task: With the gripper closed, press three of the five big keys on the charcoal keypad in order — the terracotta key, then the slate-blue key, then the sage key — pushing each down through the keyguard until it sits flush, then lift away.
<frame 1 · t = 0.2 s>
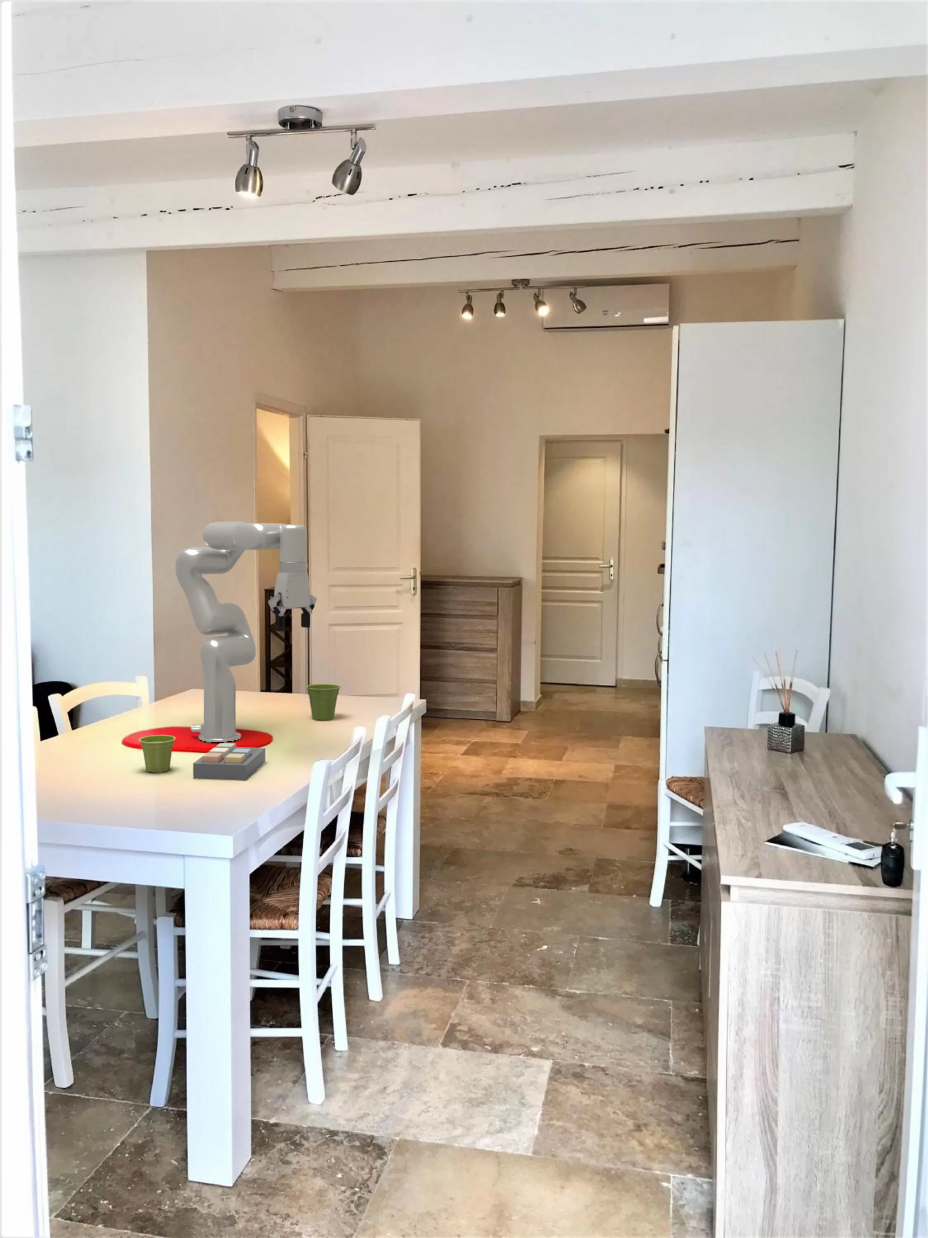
hand: (292, 628, 289), 37 cm above the table, tool pointing down, fingers open, 9 cm apart
keypad: (230, 770, 275), on the table
plant pot: (157, 771, 273), on the table
key ochre: (235, 761, 269), point 4 cm above the table, slide at 0.0 cm
plant pot 2: (323, 719, 347), on the table
key terracotta: (212, 760, 269), point 4 cm above the table, slide at 0.0 cm
key cream: (219, 755, 275), point 4 cm above the table, slide at 0.0 cm
key slate: (241, 755, 275), point 4 cm above the table, slide at 0.0 cm
key sage: (225, 750, 281), point 4 cm above the table, slide at 0.0 cm
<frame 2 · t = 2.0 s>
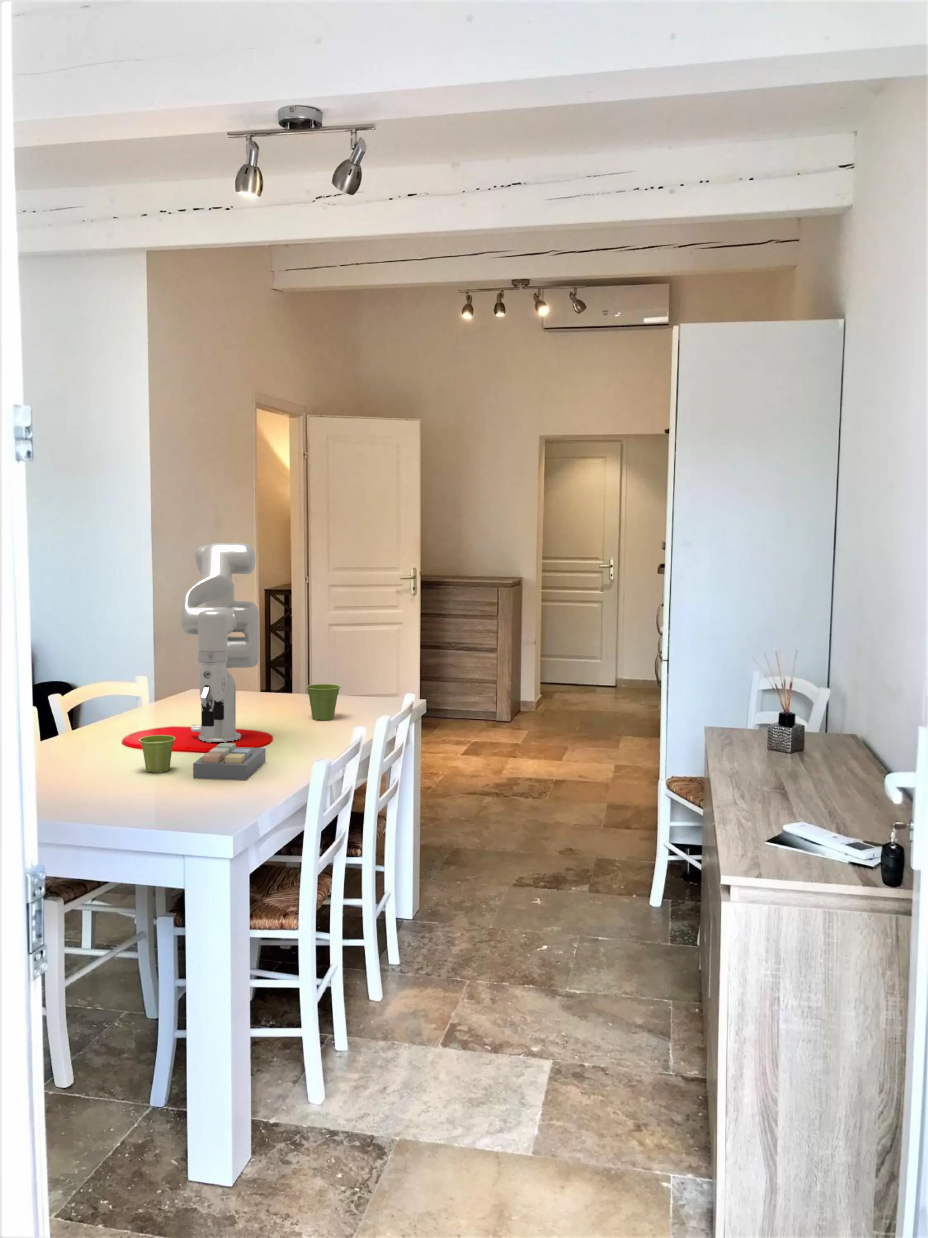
hand: (212, 722, 268), 14 cm above the table, tool pointing down, fingers open, 8 cm apart
nothing on the table moved.
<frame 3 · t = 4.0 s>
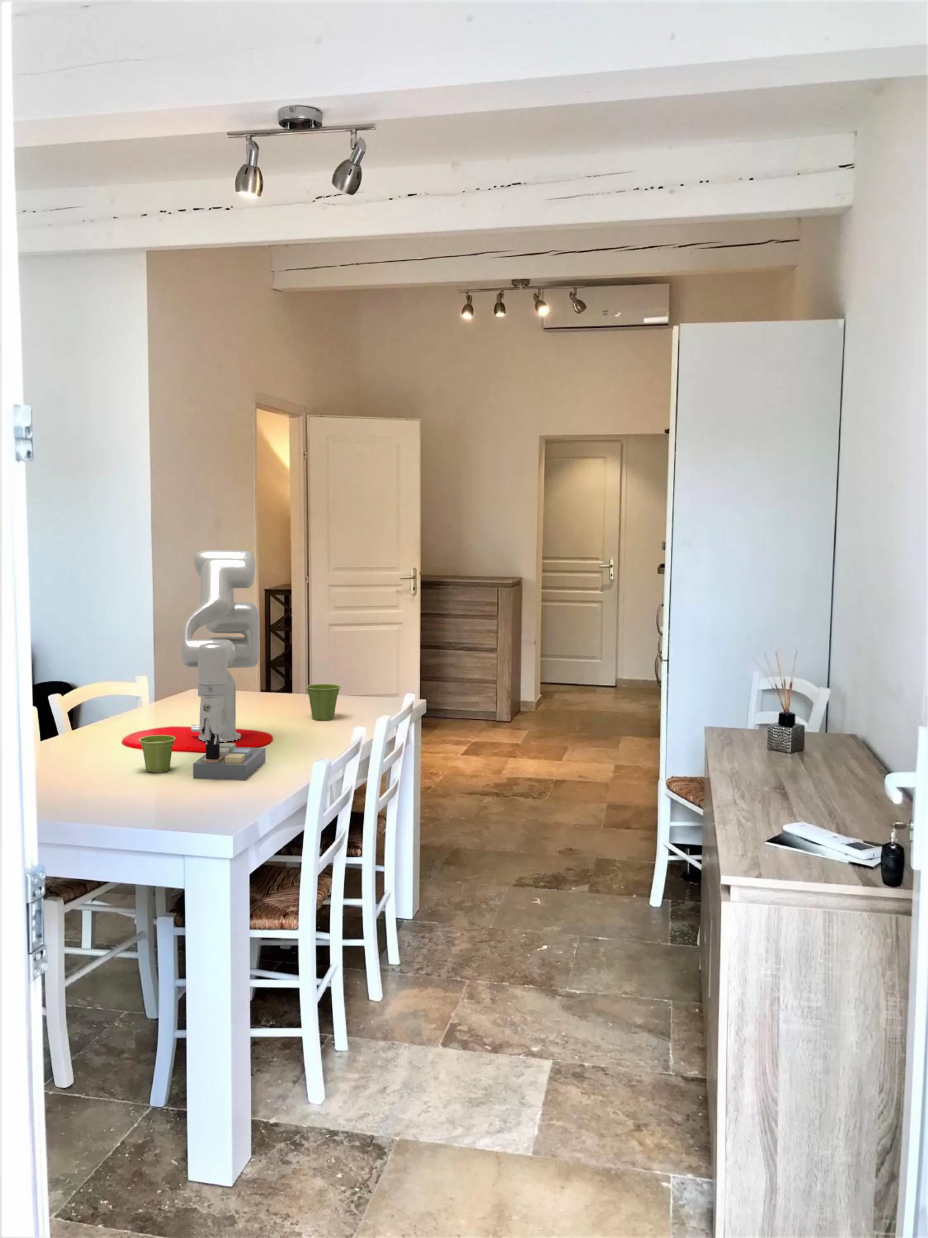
hand: (212, 758, 269), 5 cm above the table, tool pointing down, fingers closed
key terracotta: (212, 764, 269), point 3 cm above the table, slide at -1.0 cm, touching gripper
everything else where it was.
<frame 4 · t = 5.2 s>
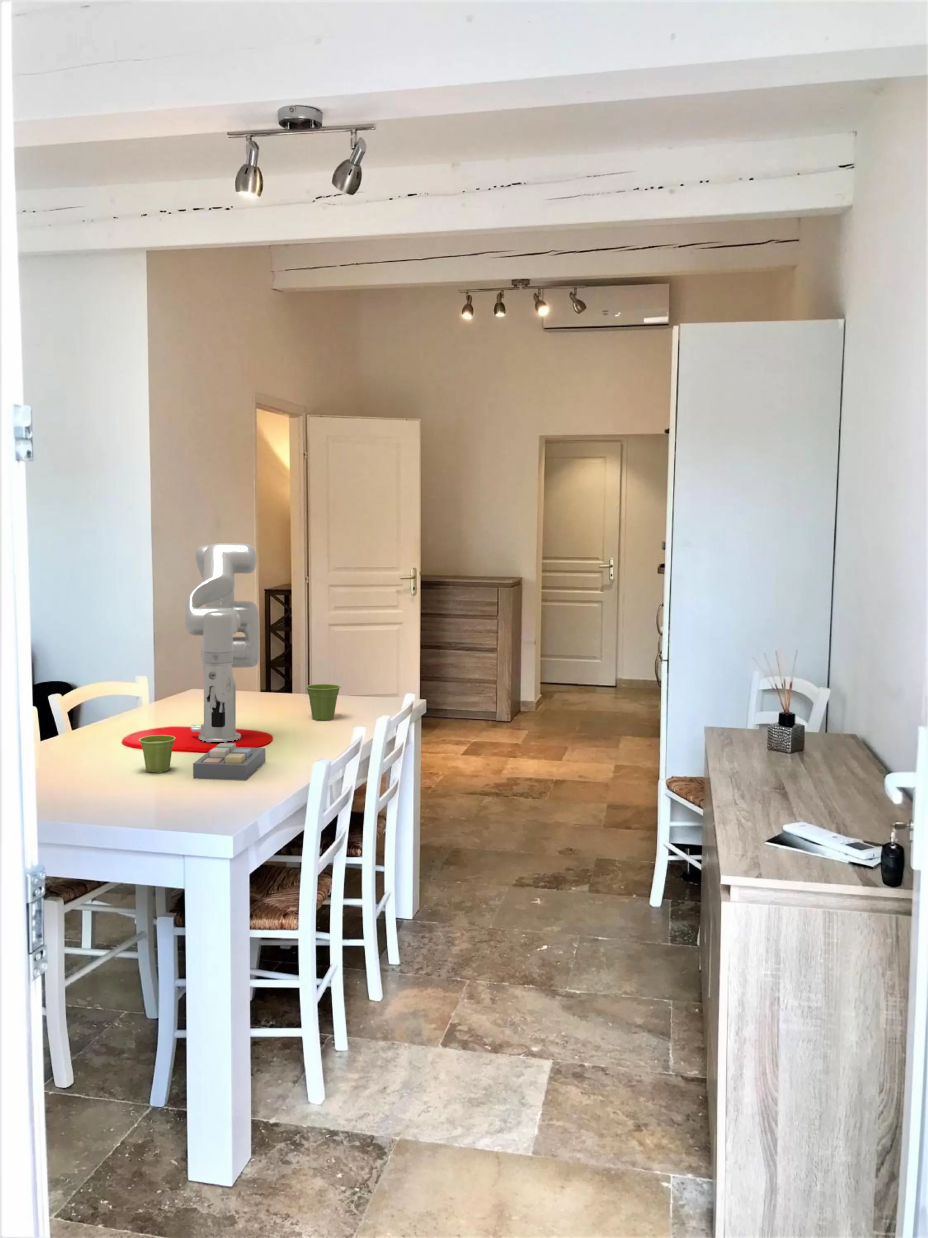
hand: (218, 726, 269), 13 cm above the table, tool pointing down, fingers closed
key terracotta: (212, 765, 269), point 3 cm above the table, slide at -1.4 cm
everything else where it was.
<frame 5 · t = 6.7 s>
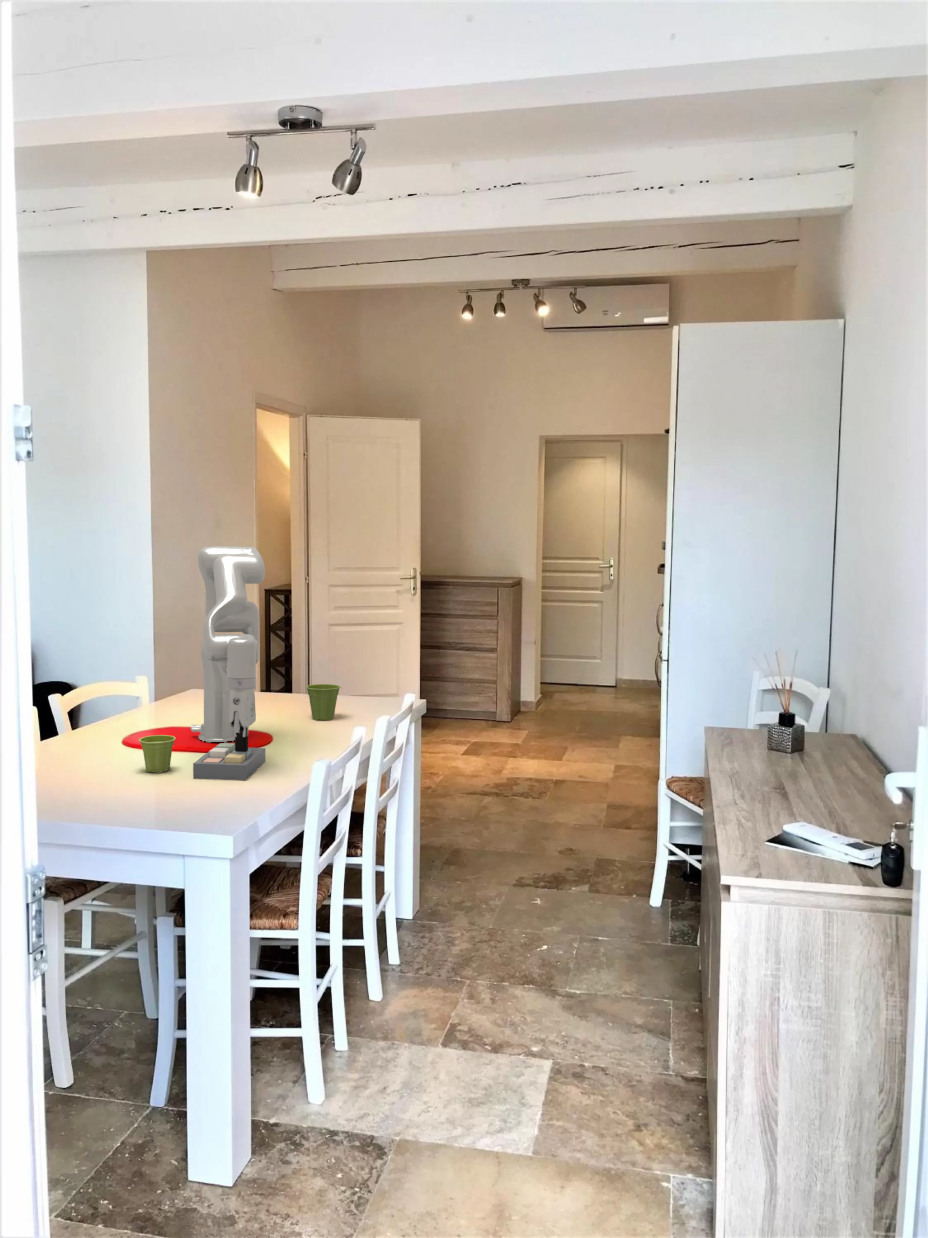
hand: (241, 751, 274), 5 cm above the table, tool pointing down, fingers closed
key slate: (241, 756, 275), point 4 cm above the table, slide at -0.1 cm, touching gripper
everything else where it was.
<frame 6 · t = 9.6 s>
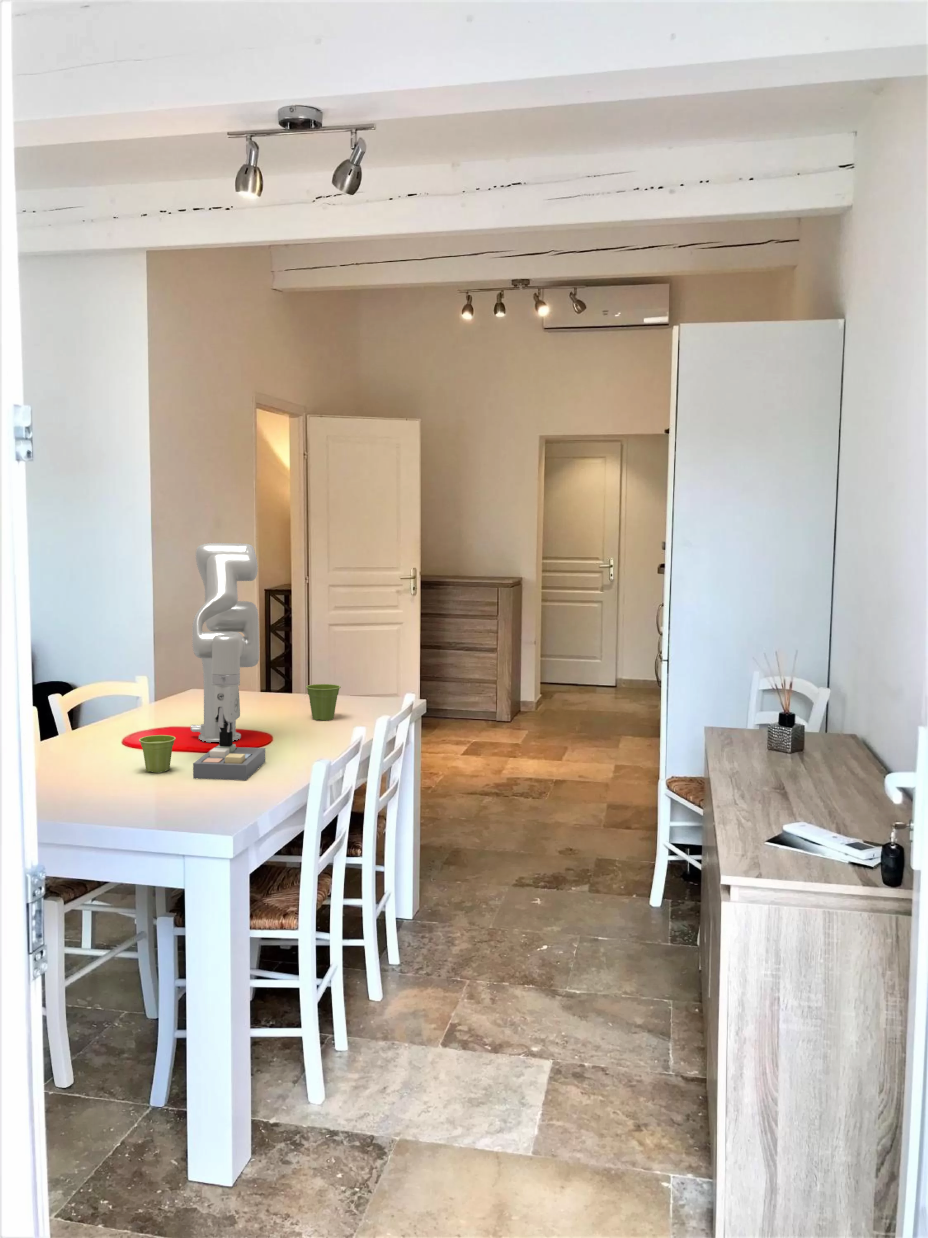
hand: (226, 745, 280), 5 cm above the table, tool pointing down, fingers closed
key slate: (241, 761, 275), point 3 cm above the table, slide at -1.5 cm
key sage: (225, 750, 281), point 4 cm above the table, slide at -0.2 cm, touching gripper
everything else where it was.
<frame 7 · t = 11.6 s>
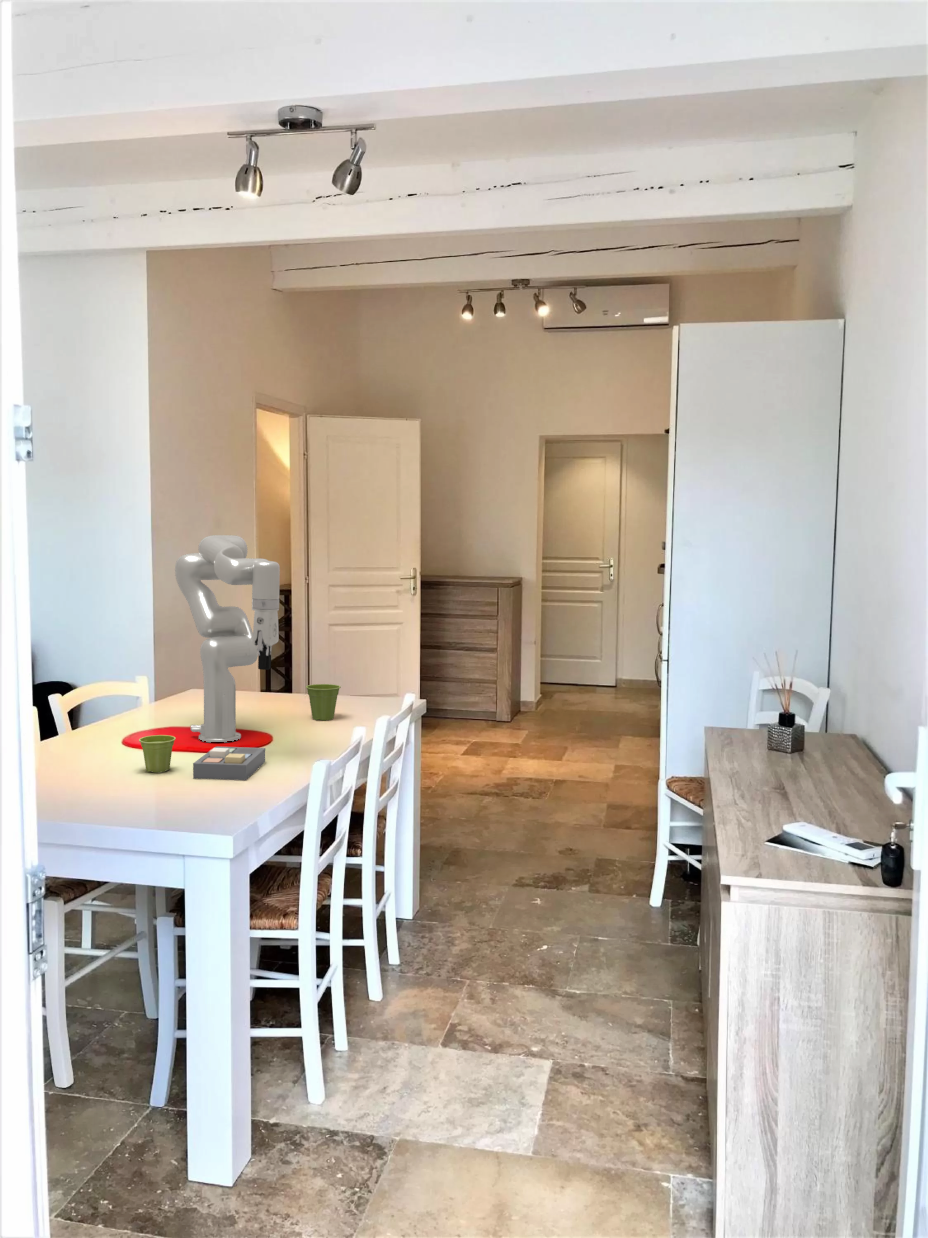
hand: (264, 669, 289), 25 cm above the table, tool pointing down, fingers closed
key sage: (225, 755, 281), point 3 cm above the table, slide at -1.5 cm
everything else where it was.
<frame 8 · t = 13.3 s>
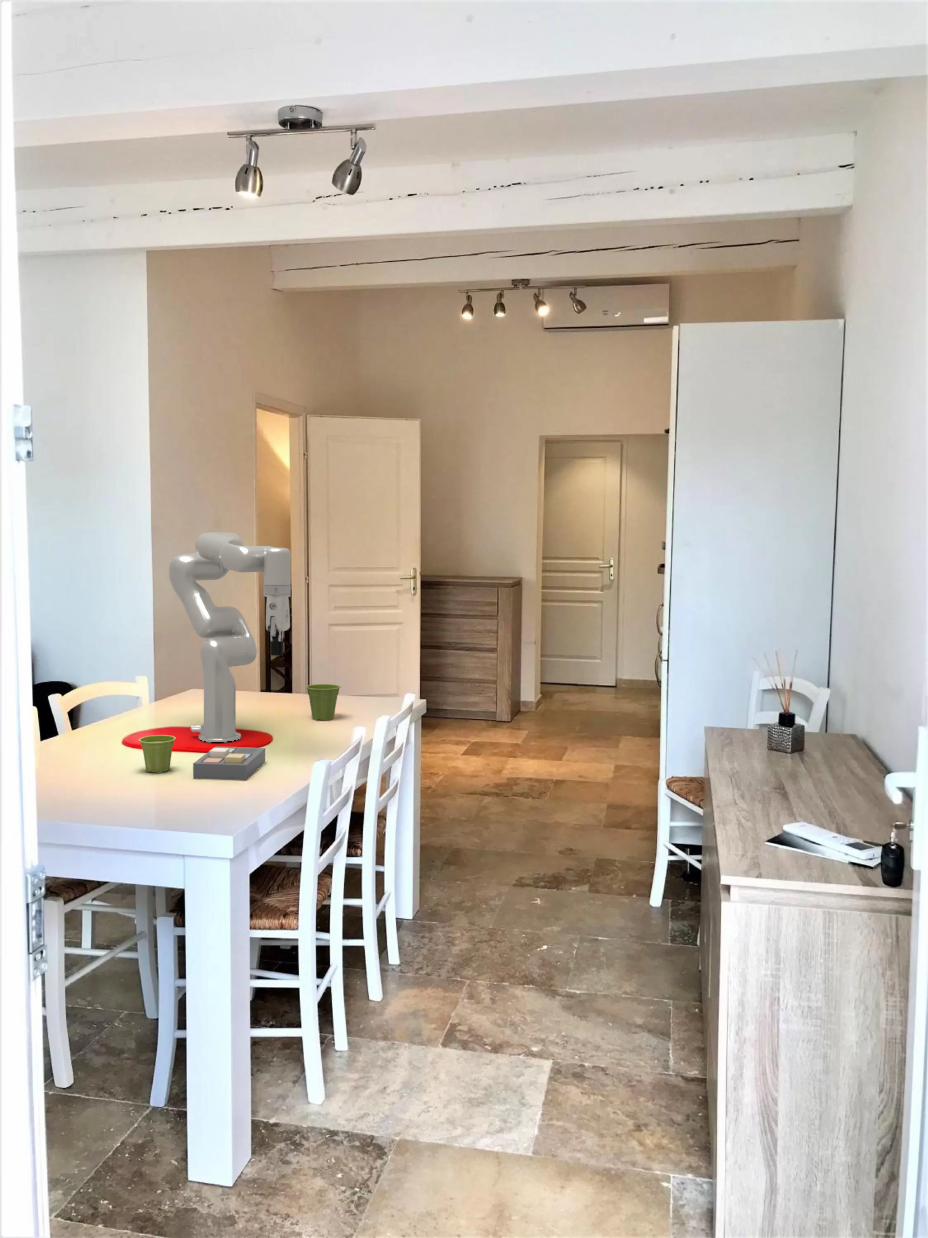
hand: (276, 655, 291), 29 cm above the table, tool pointing down, fingers closed
nothing on the table moved.
at the end: key terracotta slide at -1.4 cm; key slate slide at -1.5 cm; key sage slide at -1.5 cm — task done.
